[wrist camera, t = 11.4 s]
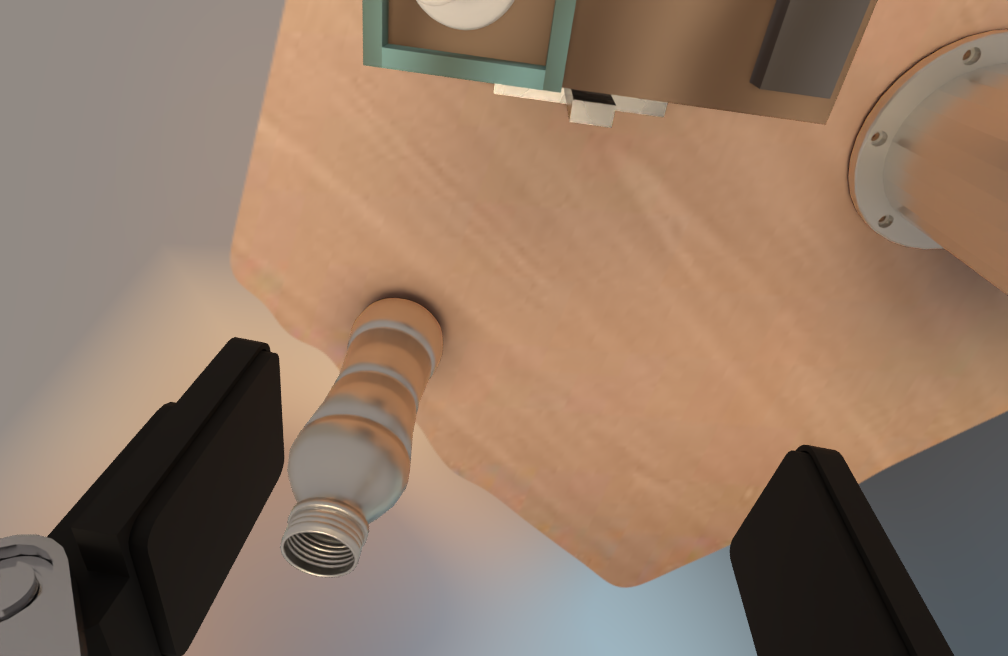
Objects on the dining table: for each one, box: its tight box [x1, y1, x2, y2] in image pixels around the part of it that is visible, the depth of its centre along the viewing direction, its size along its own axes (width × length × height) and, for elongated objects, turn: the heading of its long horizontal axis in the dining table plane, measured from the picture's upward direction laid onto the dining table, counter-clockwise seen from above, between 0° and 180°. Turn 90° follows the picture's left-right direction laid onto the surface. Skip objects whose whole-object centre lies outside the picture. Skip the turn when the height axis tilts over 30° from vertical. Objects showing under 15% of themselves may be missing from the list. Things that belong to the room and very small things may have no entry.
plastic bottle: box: [280, 298, 443, 578], centre depth 35 cm, size 6×7×20 cm
